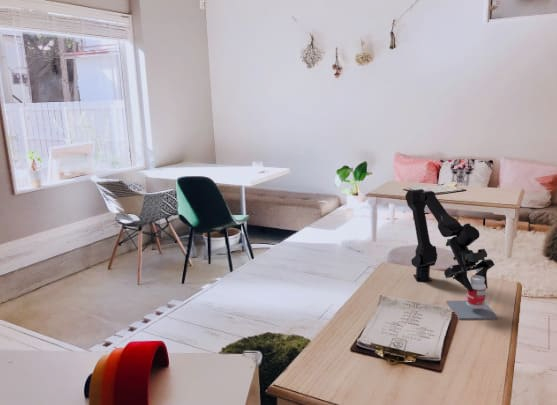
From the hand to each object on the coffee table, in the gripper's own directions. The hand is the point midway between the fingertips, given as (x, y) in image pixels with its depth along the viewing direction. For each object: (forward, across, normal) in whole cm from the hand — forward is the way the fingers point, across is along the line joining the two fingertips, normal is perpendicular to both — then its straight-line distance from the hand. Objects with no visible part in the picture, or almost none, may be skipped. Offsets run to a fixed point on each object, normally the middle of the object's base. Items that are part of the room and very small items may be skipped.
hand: (479, 289), depth 173 cm
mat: (+5, -1, +8) cm, 10 cm away
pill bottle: (+4, 0, +6) cm, 7 cm away
